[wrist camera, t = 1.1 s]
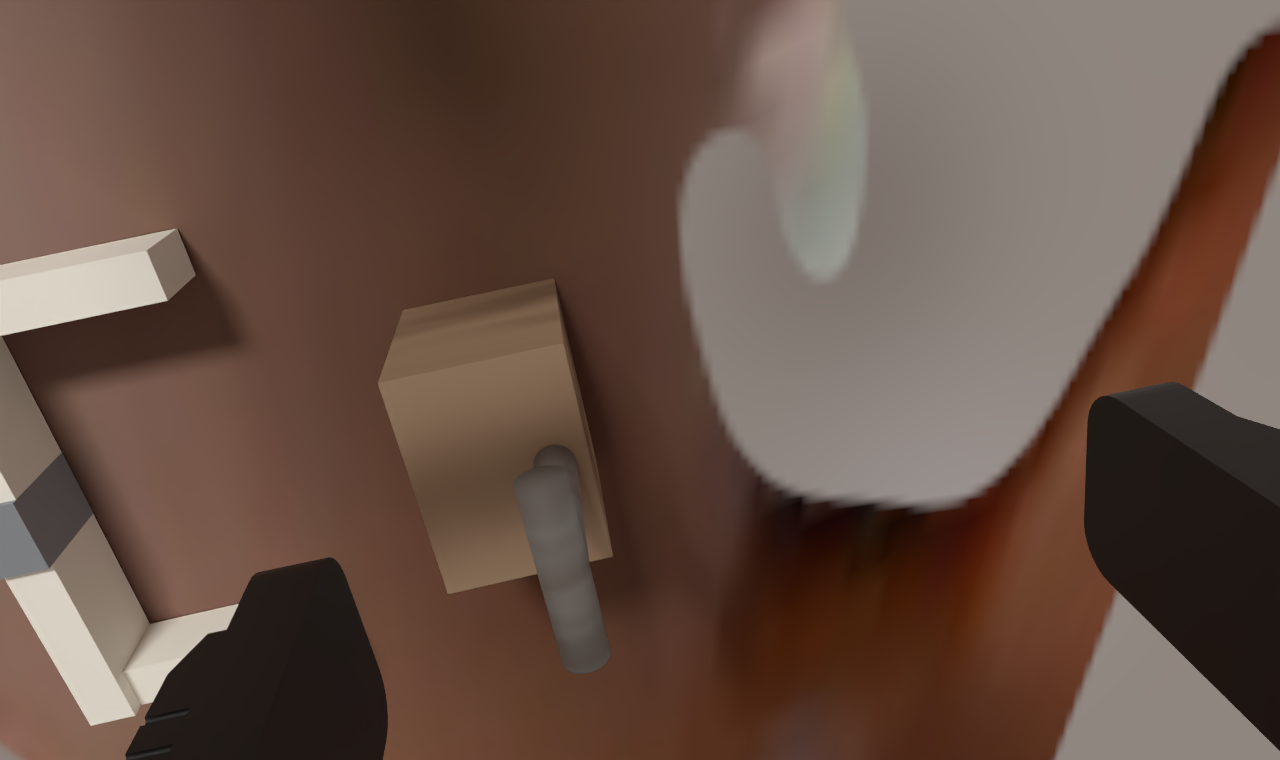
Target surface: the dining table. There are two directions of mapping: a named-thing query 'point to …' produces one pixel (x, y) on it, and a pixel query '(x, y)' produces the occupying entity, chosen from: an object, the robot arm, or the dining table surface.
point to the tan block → (503, 453)
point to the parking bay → (54, 503)
